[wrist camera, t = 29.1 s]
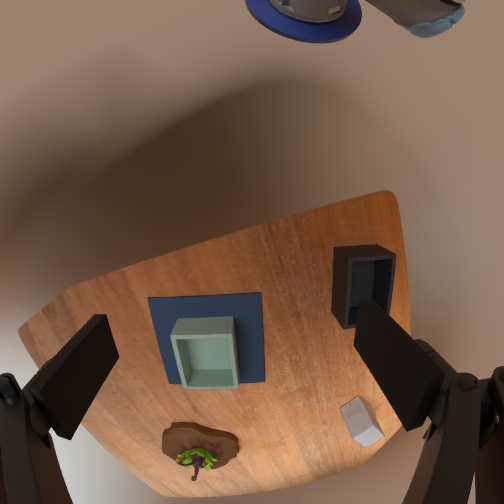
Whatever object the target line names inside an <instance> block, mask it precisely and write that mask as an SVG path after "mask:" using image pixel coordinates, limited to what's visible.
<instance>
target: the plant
mask: <svg viewBox="0 0 504 504" xmlns="http://www.w3.org/2000/svg"><path fill="white" fill-rule="evenodd" d="M162 452H163V453H164V454H166V455H168V456H169V457H170V458H172V459H174V460H176V462H177V463H178V464H179V465H181V466H186V467H192V466H193V467H194V468H195V474H194V476H192V477H191V480H192V481H195V480H196V477H197V474H198V471H199V469H201V468H205V469H208V470H210V469H216V468H219V467H221V466H224V465H226V464H227V463H228V462H229V460H230V459H232V458H235V457H237V453H239V445H238V439H237V438H236V437H235V436H234V435H233V434H231V433H229V432H225V431H218V430H212V429H209V428H206V427H202V426H200V425H198V424H196V423H187V422H181V423H172V424H171V428H169V429H166V430H164V432H163V435H162ZM182 463H183V464H182Z"/></svg>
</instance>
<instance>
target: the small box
mask: <svg viewBox="0 0 504 504" xmlns="http://www.w3.org/2000/svg"><path fill="white" fill-rule="evenodd" d="M340 410H341V413H342V415H343V417H344V420H345V422H346V425H347V427H348V429H349V432H350V434H351V437H352V439H354V440H355V441H356V442H358V443H359V444H360V445H362V446H363V447H365V448H366V447H368V446H369V445H371V444H373V443H374V442H376V441H378V440H379V439H381V438H382V437H384V436H385V435H384V433H383V431H382V429H381V427H380V425H379V423H378V421H377V420H376V418H375V416H374V414H373V412H372V410H371V408H370V407H369V406H368V405H367V404H366V403H365V402H364V401H363V400H362V399H361V398H360V397H359V396H357V397H356V398H355V399H353V400H352V401H350V402H349V403H347V404H345V405H344V406H342V407H341V408H340Z"/></svg>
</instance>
